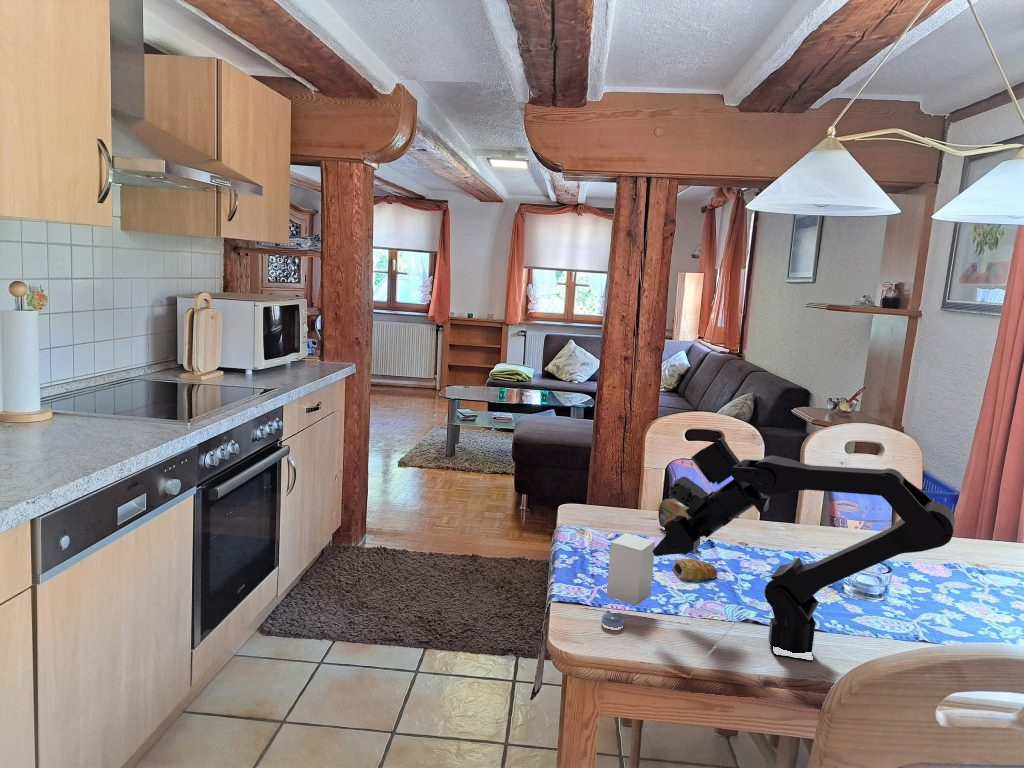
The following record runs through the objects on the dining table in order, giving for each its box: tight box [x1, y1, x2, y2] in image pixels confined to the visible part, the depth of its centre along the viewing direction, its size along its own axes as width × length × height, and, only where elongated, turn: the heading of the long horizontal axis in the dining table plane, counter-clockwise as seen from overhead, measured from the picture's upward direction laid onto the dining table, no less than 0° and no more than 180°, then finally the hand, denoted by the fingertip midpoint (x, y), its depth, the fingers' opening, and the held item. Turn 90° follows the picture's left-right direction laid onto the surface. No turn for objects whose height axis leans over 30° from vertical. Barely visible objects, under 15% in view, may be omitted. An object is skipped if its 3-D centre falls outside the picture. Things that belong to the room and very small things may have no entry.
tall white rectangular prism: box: [607, 532, 656, 605], centre depth 142 cm, size 6×6×12 cm
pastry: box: [671, 558, 718, 582], centre depth 156 cm, size 9×7×4 cm
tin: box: [657, 498, 689, 528], centre depth 180 cm, size 15×3×8 cm, turn 17°
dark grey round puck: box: [601, 612, 625, 628], centre depth 131 cm, size 4×4×2 cm
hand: (663, 546), depth 138 cm, fingers open, 9 cm apart
